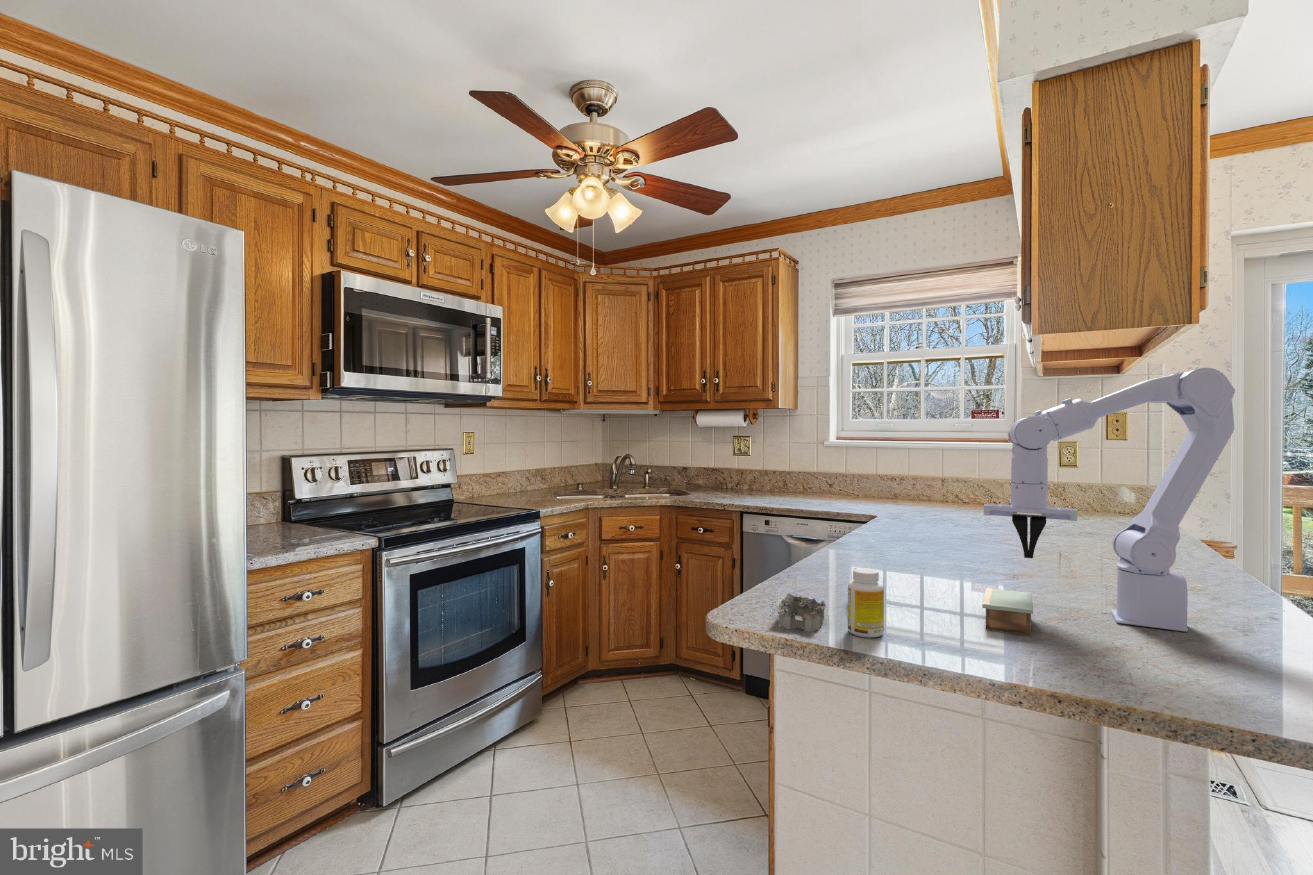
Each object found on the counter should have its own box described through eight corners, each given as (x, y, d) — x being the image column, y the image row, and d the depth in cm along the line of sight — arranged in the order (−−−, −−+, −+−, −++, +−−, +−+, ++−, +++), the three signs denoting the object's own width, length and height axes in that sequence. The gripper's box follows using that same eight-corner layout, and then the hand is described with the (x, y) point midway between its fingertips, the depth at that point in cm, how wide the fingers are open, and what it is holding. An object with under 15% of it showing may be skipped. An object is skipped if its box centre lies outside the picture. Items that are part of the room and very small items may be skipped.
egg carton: (818, 635, 101) (818, 610, 101) (772, 628, 104) (772, 604, 104) (829, 617, 111) (829, 594, 110) (787, 611, 114) (787, 589, 114)
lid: (1031, 596, 110) (1031, 592, 110) (1033, 613, 99) (1033, 609, 99) (985, 591, 114) (985, 587, 114) (982, 607, 103) (982, 603, 103)
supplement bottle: (891, 636, 99) (891, 573, 99) (862, 640, 97) (863, 575, 97) (868, 626, 105) (868, 565, 104) (840, 629, 103) (840, 568, 103)
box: (1029, 616, 110) (1029, 596, 110) (1030, 636, 100) (1030, 613, 100) (988, 611, 113) (988, 591, 113) (985, 629, 103) (985, 608, 103)
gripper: (983, 482, 113) (982, 556, 114) (1078, 486, 106) (1078, 565, 106) (985, 480, 120) (984, 550, 120) (1075, 483, 112) (1075, 558, 112)
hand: (1028, 557), depth 113 cm, fingers closed
